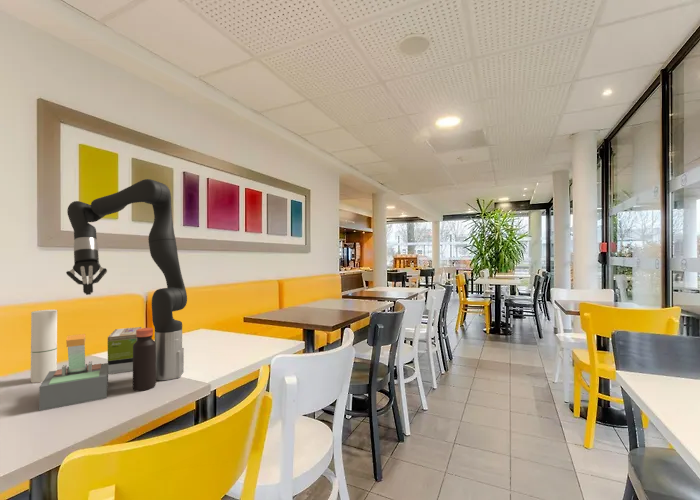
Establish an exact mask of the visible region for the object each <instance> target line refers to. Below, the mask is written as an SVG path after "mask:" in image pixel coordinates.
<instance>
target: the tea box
mask: <svg viewBox="0 0 700 500" xmlns="http://www.w3.org/2000/svg"><path fill="white" fill-rule="evenodd" d="M141 328H142V326H138V327H126V328H117V329H116V328H115V329H114V330H113V331H112V332H111V333H110V334H109V335H108V336H107V363H108V375H113V373H114V374H120V373H127V372H128V373H130V372H133V345H134V343H135V342H136V341H137V338H136V330H137V329H141Z"/></svg>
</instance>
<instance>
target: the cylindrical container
mask: <svg viewBox="0 0 700 500" xmlns="http://www.w3.org/2000/svg"><path fill="white" fill-rule="evenodd" d="M30 314H31V318H30V319H31V322H30V323H31V324H30V325H31V328H30V333H31V334H30V383H31V384H32V383H33V384H36V383H38V384H39V383H42V382H43V381H44V379H45V378H46V376H47V374H48V373H49V371H56V370H58V369H57V368H58V367H57V364H58V360H57V359H58V310H57V309H43V310H42V309H40V310H34V311H31V313H30Z"/></svg>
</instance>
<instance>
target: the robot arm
mask: <svg viewBox="0 0 700 500" xmlns="http://www.w3.org/2000/svg"><path fill="white" fill-rule="evenodd" d="M134 203H135V204H136V203H145V204H148V205H151V206H152V209H153V217H154V218H153V224H152V226H151V229H150V231H149V233H148V248H149V254H150V257H151V258H152V259H151V260H152V261H154V263H155V264H156V266H157V267H158V268H159V270H161V272H162V274H163V275H164V278H165V282H166V287H164V288H158V289H156V290H155V291H154V292H153V294H152V297H151V315H152V316H151V317H152V320H151V321H152V324H153V325H152V326H153V327H154V328H153V329H154V341H155V342H156V381H168V380H174V379H177V378H178V379H179V378H181V377H182V375H183V373H184V364H185V361H184V359H185V358H184V357H185V356H184V354H185V351H184V350H185V349H184V347H183V322H182V321H181V320H177V319H175V318H174V315H173V312H177V311H182V310H183V309H185V308H186V306H187V302H188V295H187V294H188V293H187V290H186V286H185V282H184V279H183V278H184V277H183V275H182V271H181V265H180V260H179V254H178V246H177V241H176V236H175V235H176V234H175V229H174V221H173V210H172V209H173V208H172V194H171V190H170V188H169V187H168V185H166V184H164V183H163V182H160V181H157V180H154V179H149V178H146V179H142V180H140V181H138V182H136V183H134V184H132V185H130V186H128V187H125V188H124V189H121V190H119V191H117V192H115V193H111V194H108V195H104V196H101V197H98V198H95V199H93V200H92V201H91V203H90V204H89V203H85V202H83V201H79V200H75V201H72V202H71V203H70V204H69V205H68V206H67V211H66V212H67V216H68V220H69V222H70V224H71V227H72V229H73V240H74V241H73V260H74V264H73V266H72V269H70V270H67V271H66V272H65V273H66V275H67V276H68V277H69V279H72V280H73V281H74V282H75V283H76V284H77V285H82V290H83V291H82V292H83V293H84V294H85V295H86V296H88V295H89V296H90V295H92V294H93V292H94V285H95V284H97V283H99V282H100V280H102V278H103V277H105V275H106V274H107V273H108V269H107V268H104V267H102V266H101V263H100V259H99V244H98V239H97V229H96V227H95V226H94V225H92V224H91V223H95V222H98V221H100V220H101V219H102V218H104V217H105V216H108V215H111V214H115V213H118V212H120V211H122V210H124V208H126V207H127V206H128V205H131V204H134ZM98 272H99V273H98ZM97 273H98V274H97ZM76 274H77V275H78V276H79V277H81V279H82V280H81V279H79V278H78V277H77V276H76ZM96 274H97V276H96V277H95V278H94V276H95V275H96ZM87 277H88V279H87Z"/></svg>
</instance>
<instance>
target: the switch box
mask: <svg viewBox="0 0 700 500" xmlns="http://www.w3.org/2000/svg"><path fill="white" fill-rule="evenodd" d="M67 367H68V366H67V364H64V365H62V367H61V369H57V370H56V371H49V373H48V374H47V376H46V378H45V379H44V381H43V382H41V383H40V385H39V388H38V389H39V390H38V391H39V394H38V395H39V397H38V398H39V399H38V400H39V401H38V403H39V404H38V407H39V408H38V410H39V412H40V411H47V410H52V409H57V408H62V407H67V406H72V405H77V404H82V403H87V402H93V401H98V400H99V401H100V400H103V399H107V396H108V395H107V394H108V387H109V374H108V362H106V363H96V364H93V361H92V360H90V361H88V364H87V372H80V373H74V374H67Z"/></svg>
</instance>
